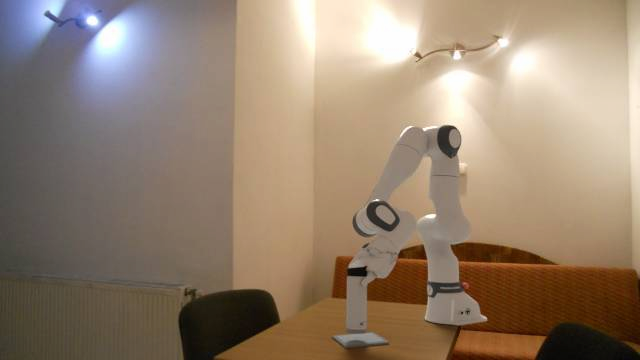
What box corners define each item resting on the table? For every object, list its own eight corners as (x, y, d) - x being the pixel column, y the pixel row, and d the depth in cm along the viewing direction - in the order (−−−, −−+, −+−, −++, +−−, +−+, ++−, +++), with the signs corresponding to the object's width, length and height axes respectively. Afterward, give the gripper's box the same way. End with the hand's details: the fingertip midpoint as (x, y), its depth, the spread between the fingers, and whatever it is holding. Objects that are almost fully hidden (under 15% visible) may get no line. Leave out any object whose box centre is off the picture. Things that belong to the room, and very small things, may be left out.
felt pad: (372, 334, 149) (372, 331, 149) (389, 343, 138) (389, 341, 138) (332, 337, 145) (332, 335, 145) (345, 348, 134) (345, 345, 134)
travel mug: (367, 334, 136) (368, 265, 139) (345, 333, 137) (346, 265, 140) (368, 331, 142) (368, 265, 145) (346, 330, 143) (347, 265, 146)
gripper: (406, 259, 138) (379, 294, 133) (371, 258, 157) (347, 288, 151) (394, 245, 137) (366, 279, 132) (360, 245, 155) (334, 275, 150)
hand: (355, 284), depth 142 cm, fingers closed on travel mug, 6 cm apart
